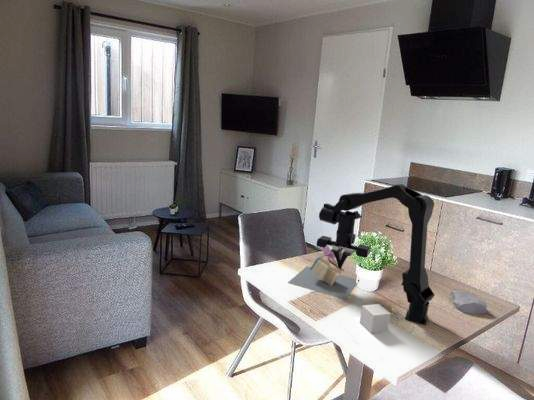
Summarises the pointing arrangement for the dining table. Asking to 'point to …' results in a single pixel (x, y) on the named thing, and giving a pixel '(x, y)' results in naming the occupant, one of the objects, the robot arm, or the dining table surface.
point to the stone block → (468, 302)
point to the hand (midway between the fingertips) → (340, 268)
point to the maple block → (325, 270)
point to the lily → (328, 253)
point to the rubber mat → (324, 283)
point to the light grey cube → (374, 318)
